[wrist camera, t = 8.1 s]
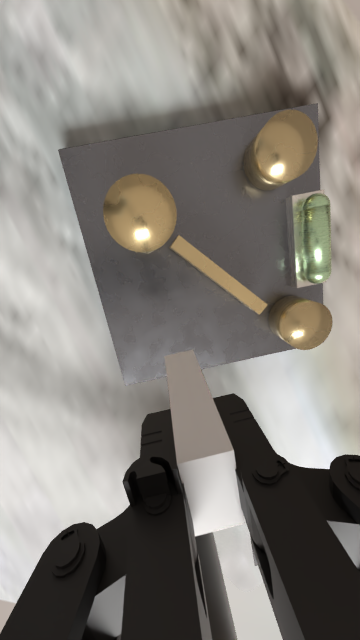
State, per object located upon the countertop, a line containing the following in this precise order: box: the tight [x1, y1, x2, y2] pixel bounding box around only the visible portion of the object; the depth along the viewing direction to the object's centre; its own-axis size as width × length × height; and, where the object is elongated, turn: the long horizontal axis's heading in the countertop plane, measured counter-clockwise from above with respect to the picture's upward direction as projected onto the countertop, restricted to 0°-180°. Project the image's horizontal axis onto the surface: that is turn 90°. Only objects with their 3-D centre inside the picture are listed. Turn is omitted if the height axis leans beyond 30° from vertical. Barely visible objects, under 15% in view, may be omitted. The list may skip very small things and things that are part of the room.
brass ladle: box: [103, 174, 267, 315], centre depth 23 cm, size 17×6×4 cm, turn 54°
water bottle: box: [195, 532, 237, 640], centre depth 25 cm, size 10×10×23 cm
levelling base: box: [58, 103, 332, 386], centre depth 25 cm, size 24×24×6 cm
